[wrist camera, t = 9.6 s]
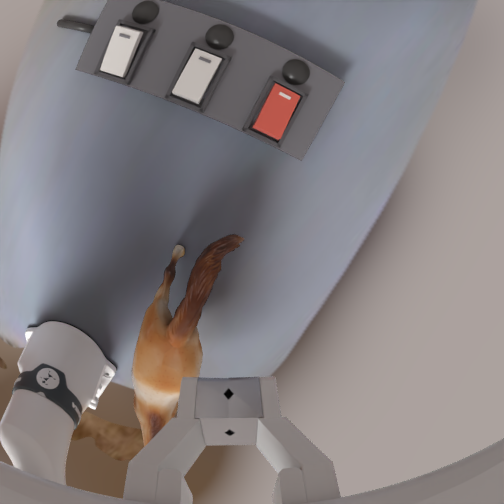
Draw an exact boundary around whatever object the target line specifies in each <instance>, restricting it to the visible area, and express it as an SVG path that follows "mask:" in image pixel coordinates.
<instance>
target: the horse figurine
mask: <svg viewBox="0 0 504 504" xmlns="http://www.w3.org/2000/svg"><path fill="white" fill-rule="evenodd" d="M242 241H244V238H242V237H240V236H238V235H235V234H232V235H228V236H225V237H223V238H221V239H219V240H217V241H215V242H213V243H211V244H210V245H209V246H208V247H206V248H205V249H204V250H203V252H202V254H201V255H200V256H199V257H198V259H197V260H196V263H195V266H194V267H193V269H192V271H191V275H190V278H189V281H188V285H187V290H186V295H185V298H184V299H183V300H182V301H181V303H180V305H179V306H178V307H177V309H176V311H175V315H174V317H173V318H172V315H171V313H170V311H169V309H168V302H169V292H170V286H171V283H172V281H173V280H174V277H175V273H176V271H175V266H176V263H177V260H178V259H179V258H180V257H183V256H184V254H185V249H184V247H183V246H180V245H176V246H175V248H174V250H173V254H172V259H171V262H170V264H169V266H168V267H166V269H165V272H164V280H163V283H162V284H161V286H160V287H159V289H158V291H157V293H156V295H155V297H154V301H153V303H152V304H151V305H150V306H149V307H148V309H147V311H146V313H145V316H144V320H143V323H142V326H141V329H140V334H139V337H138V341H137V345H136V349H135V353H134V359H133V366H132V382H133V385H134V388H135V390H134V394H135V397H134V410H135V413H136V415H137V416H138V419H139V421H140V424H141V429H142V435H143V441H144V447H145V446H146V445H147V444H148V443H149V442H150V441H151V440H152V439H153V438H154V437H155V436H156V434H157V433H158V432H159V431H160V430H161V429H162V428H163V427H164V426H165V425H166V424H167V423H168V422H169V421H170V420H171V419H172V418H174V416H175V414H176V411H177V408H178V399H179V395H180V387H181V380H182V378H183V377H199V373H200V368H201V364H202V356H203V353H202V347H201V343H200V340H199V333H198V329H197V327H196V326H197V324H198V321H199V319H200V316H201V311H202V307H203V306H204V304H205V303H206V301H207V299H208V297H209V294H210V292H211V290H212V287H213V284H214V281H215V280H216V278H217V276H218V273H219V272H220V271H221V260H222V259H223V257H224V256H225V255H226V254H227V253H229V252H231V251H234V250H235V248H238V247H239V246H240V245H239V243H241V242H242Z"/></svg>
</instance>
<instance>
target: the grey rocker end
mask: <svg viewBox="0 0 504 504" xmlns="http://www.w3.org/2000/svg"><path fill="white" fill-rule="evenodd" d="M142 35H143V32H141V31H138V30H134V29H131V28H127V27H123V26H116V27H115V30H114V32H113V35H112V37H111V40H110V43H109V45H108V48H107V51H106V54H105V56H104V59H103V62H102V65H101V68H100V70H101V71H104V72H108V73H111V74H114V75H117V76H120V77H125V76H126V75H127V73H128V70H129V67H130V65H131V62H132V59H133V57H134V54H135V52H136V49H137V47H138V44H139V42H140V40H141V37H142Z"/></svg>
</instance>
